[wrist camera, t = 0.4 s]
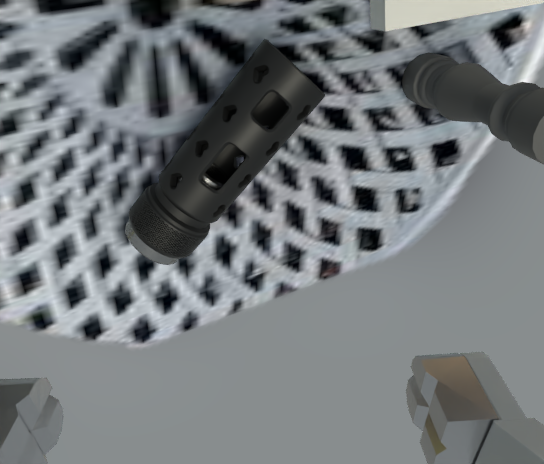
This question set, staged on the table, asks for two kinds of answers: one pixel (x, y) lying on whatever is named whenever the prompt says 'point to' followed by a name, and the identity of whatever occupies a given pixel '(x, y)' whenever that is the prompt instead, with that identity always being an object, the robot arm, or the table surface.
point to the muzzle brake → (222, 155)
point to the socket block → (432, 11)
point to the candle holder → (479, 100)
